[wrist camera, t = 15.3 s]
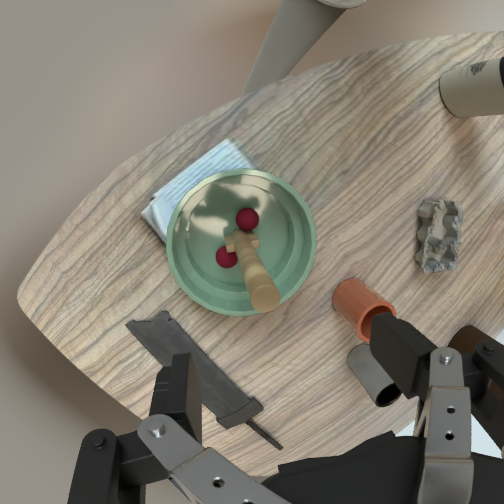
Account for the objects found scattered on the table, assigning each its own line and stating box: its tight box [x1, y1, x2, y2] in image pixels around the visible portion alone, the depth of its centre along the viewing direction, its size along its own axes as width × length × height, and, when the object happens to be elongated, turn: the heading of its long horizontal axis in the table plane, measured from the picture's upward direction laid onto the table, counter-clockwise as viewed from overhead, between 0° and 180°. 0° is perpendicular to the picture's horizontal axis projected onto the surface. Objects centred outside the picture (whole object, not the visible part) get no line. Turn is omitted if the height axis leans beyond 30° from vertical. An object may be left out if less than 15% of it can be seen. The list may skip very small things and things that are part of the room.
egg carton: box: [415, 199, 463, 274], centre depth 37 cm, size 11×8×4 cm
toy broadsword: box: [125, 311, 283, 450], centre depth 40 cm, size 7×35×2 cm, turn 34°
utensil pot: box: [332, 279, 396, 342], centre depth 36 cm, size 5×5×8 cm
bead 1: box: [216, 246, 238, 268], centre depth 34 cm, size 3×3×3 cm
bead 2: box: [236, 208, 259, 231], centre depth 33 cm, size 3×3×3 cm
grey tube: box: [347, 344, 402, 407], centre depth 38 cm, size 4×4×10 cm
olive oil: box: [448, 325, 504, 400], centre depth 35 cm, size 11×11×25 cm
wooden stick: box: [224, 229, 281, 313], centre depth 26 cm, size 2×3×18 cm, turn 97°
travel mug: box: [440, 57, 504, 118], centre depth 25 cm, size 8×8×18 cm
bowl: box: [166, 168, 317, 316], centre depth 32 cm, size 15×15×6 cm
